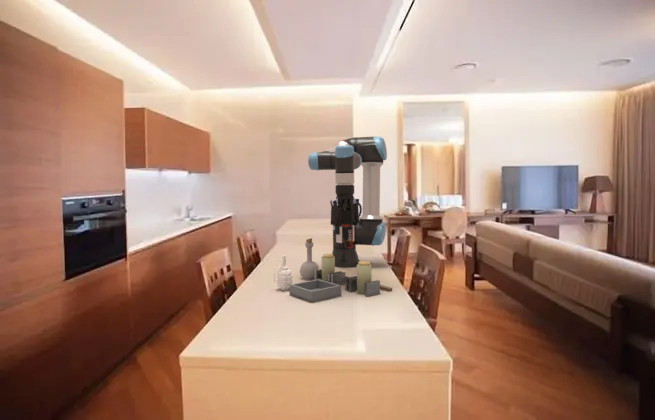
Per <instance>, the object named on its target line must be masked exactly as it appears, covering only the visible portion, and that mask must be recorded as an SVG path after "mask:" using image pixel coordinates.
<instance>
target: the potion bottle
mask: <svg viewBox="0 0 655 420" xmlns="http://www.w3.org/2000/svg"><path fill="white" fill-rule="evenodd" d="M305 241H306V242H304V244H305V247H306V261H304V262H302V264H301V265H300V269H299V274H300V277H302V278H301V280H305V281H312V280H315V270H319V269H320V267H319V265H318V263H317V262H316V261H313V253H312V252H313V249H312V248H313V247H314V242H313V237H312V238H308V239H306V240H305Z"/></svg>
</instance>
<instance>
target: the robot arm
mask: <svg viewBox="0 0 655 420" xmlns="http://www.w3.org/2000/svg"><path fill="white" fill-rule="evenodd" d="M387 158H388V152H387V145H386V140H385V139H384V137H382V136H358V137H354V136H353V137H349V138H346V139H343V140H341V141H338V142H336V143H335V144H334V146H332V147H330V148H328V149H325V150H323V151H320V152H317V151H315V152H311V153H310V154H309V155H308V159H307V161H308V163H307V164H308V167H309V169H310V170H312V171H327V170H328V171H335V172H334V173H335V175H334V177H335V178H334V179H335V194H336V197H335V199H331V200H330V201H329V203H330V225H331V226H332V252H331V254H333V256H334V257H335V268H336V267H337V268H352V267H357V264H358V262H359V261H360V259H359V256H358V252H357V250H356V248H357V245H358V246H361V245H362V246H372V247H373V246H381V245H382V244H383V243H384V241H385V238H386V232H387V231H386V230H387V224H386V222H384V219H383V217H382V216H381V215H380V214H381V211H380V210H381V208H380V207H381V206H380V201H381V200H380V199H381V167H382V166H383V165H384V161H385V160H386V161H387ZM361 166H362V210H361V211H362V214H361V216H360V214H359V213H360V212H359V209H360V208H359V203H360V199H359V198H355V197H354V194H355V185H354V183H355V170H356V169H359V168H360V167H361ZM344 210H352V214H353V248H350V249H341V248H338V243H342V227H341V226H340V225H341V220H342V211H344Z"/></svg>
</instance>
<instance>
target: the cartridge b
mask: <svg viewBox="0 0 655 420" xmlns="http://www.w3.org/2000/svg"><path fill="white" fill-rule="evenodd" d="M356 276H357V291H356V293H357V294H359V295H365V283H367V282H372V264H371V262H370V261H368V260H359V262H358V264H357V266H356Z"/></svg>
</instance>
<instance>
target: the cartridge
mask: <svg viewBox="0 0 655 420" xmlns="http://www.w3.org/2000/svg"><path fill="white" fill-rule="evenodd" d="M321 269H322V280H323V281H327V282H328V273H334V272H336V267H335V257H334V256H333V254H332V253H324V254H322V256H321Z"/></svg>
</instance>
